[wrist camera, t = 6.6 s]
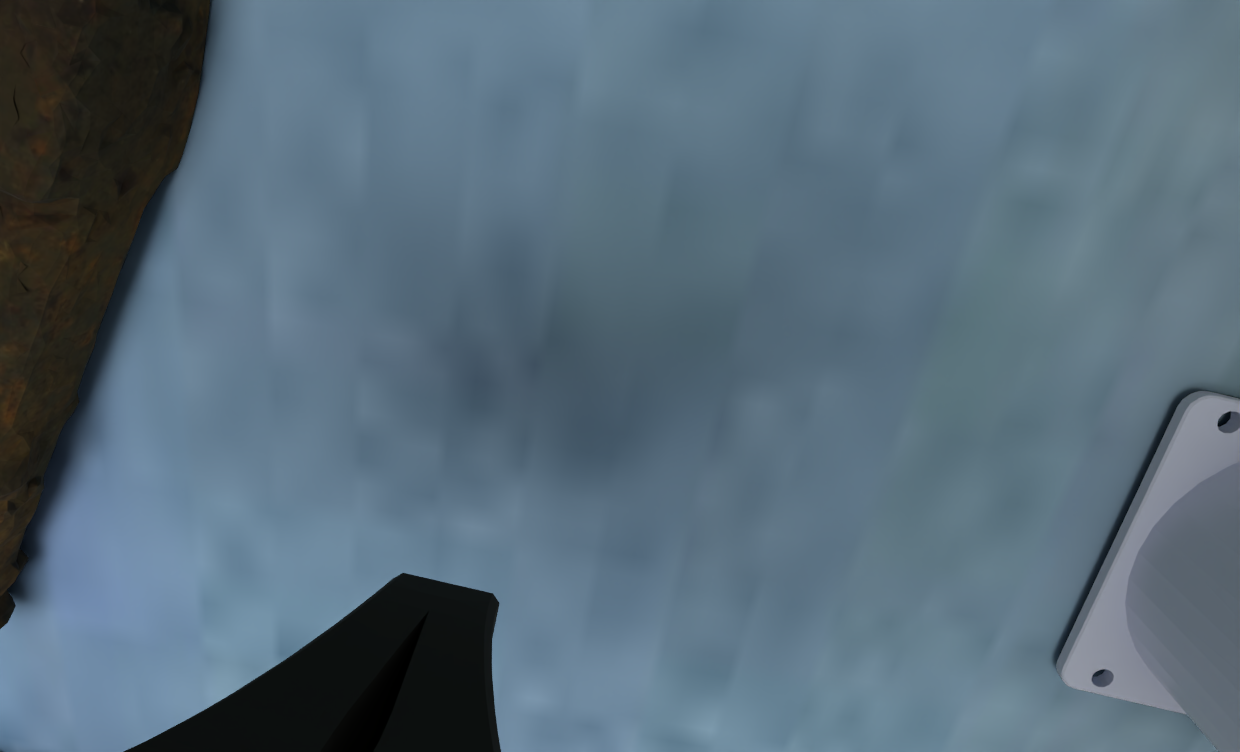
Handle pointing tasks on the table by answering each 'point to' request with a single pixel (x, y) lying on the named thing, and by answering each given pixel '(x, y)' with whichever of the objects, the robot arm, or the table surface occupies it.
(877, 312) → the table surface
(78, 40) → the dark brown rod
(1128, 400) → the table surface
